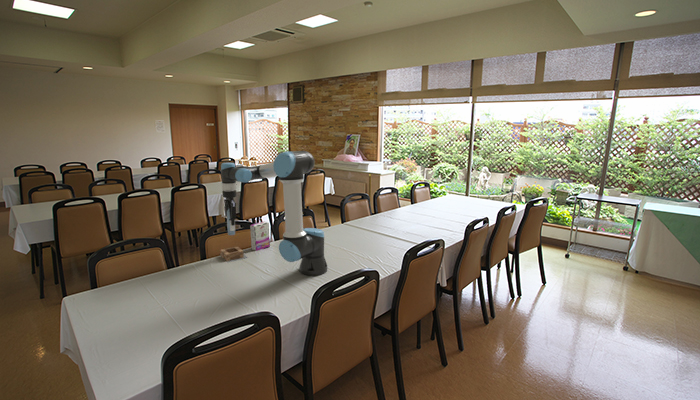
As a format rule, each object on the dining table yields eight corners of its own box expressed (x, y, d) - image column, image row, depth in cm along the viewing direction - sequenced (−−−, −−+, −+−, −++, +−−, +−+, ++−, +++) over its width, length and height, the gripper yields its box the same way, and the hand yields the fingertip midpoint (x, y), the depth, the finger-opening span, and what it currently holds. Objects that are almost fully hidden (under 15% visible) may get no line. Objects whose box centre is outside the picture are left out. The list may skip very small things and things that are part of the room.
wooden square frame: (243, 257, 204) (243, 251, 203) (226, 261, 197) (226, 254, 197) (237, 252, 211) (237, 246, 210) (220, 256, 205) (220, 249, 204)
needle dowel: (236, 234, 201) (235, 208, 198) (229, 235, 199) (227, 209, 196) (233, 232, 204) (232, 207, 201) (227, 233, 202) (225, 208, 199)
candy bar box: (265, 245, 226) (264, 221, 223) (270, 246, 223) (269, 222, 220) (251, 249, 217) (249, 224, 214) (256, 251, 214) (254, 226, 211)
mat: (248, 258, 203) (248, 257, 203) (227, 262, 196) (227, 262, 196) (239, 251, 214) (239, 250, 214) (219, 255, 207) (219, 255, 207)
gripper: (241, 191, 192) (243, 232, 197) (230, 187, 205) (232, 225, 210) (227, 193, 187) (229, 234, 192) (217, 188, 200) (220, 227, 205)
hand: (231, 229), depth 201 cm, fingers closed on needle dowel, 4 cm apart
